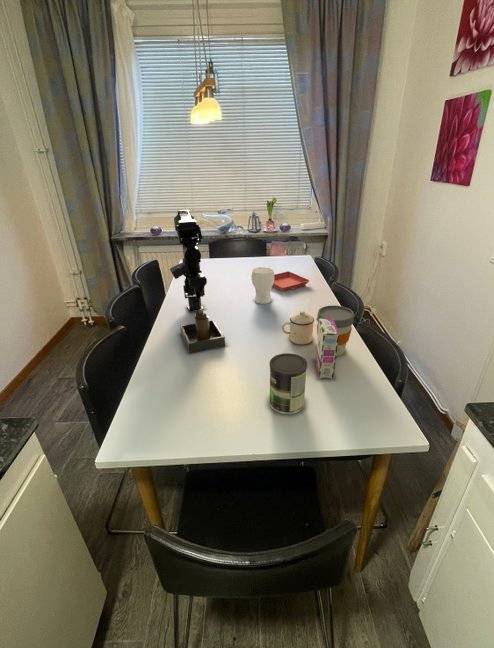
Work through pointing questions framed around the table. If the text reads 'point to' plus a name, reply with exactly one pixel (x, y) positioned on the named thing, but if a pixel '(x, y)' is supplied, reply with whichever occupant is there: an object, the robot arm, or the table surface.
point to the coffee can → (287, 383)
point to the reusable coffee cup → (338, 323)
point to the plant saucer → (288, 281)
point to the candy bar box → (326, 348)
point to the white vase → (262, 283)
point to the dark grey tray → (196, 346)
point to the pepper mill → (202, 325)
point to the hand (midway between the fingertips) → (195, 294)
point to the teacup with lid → (300, 328)
